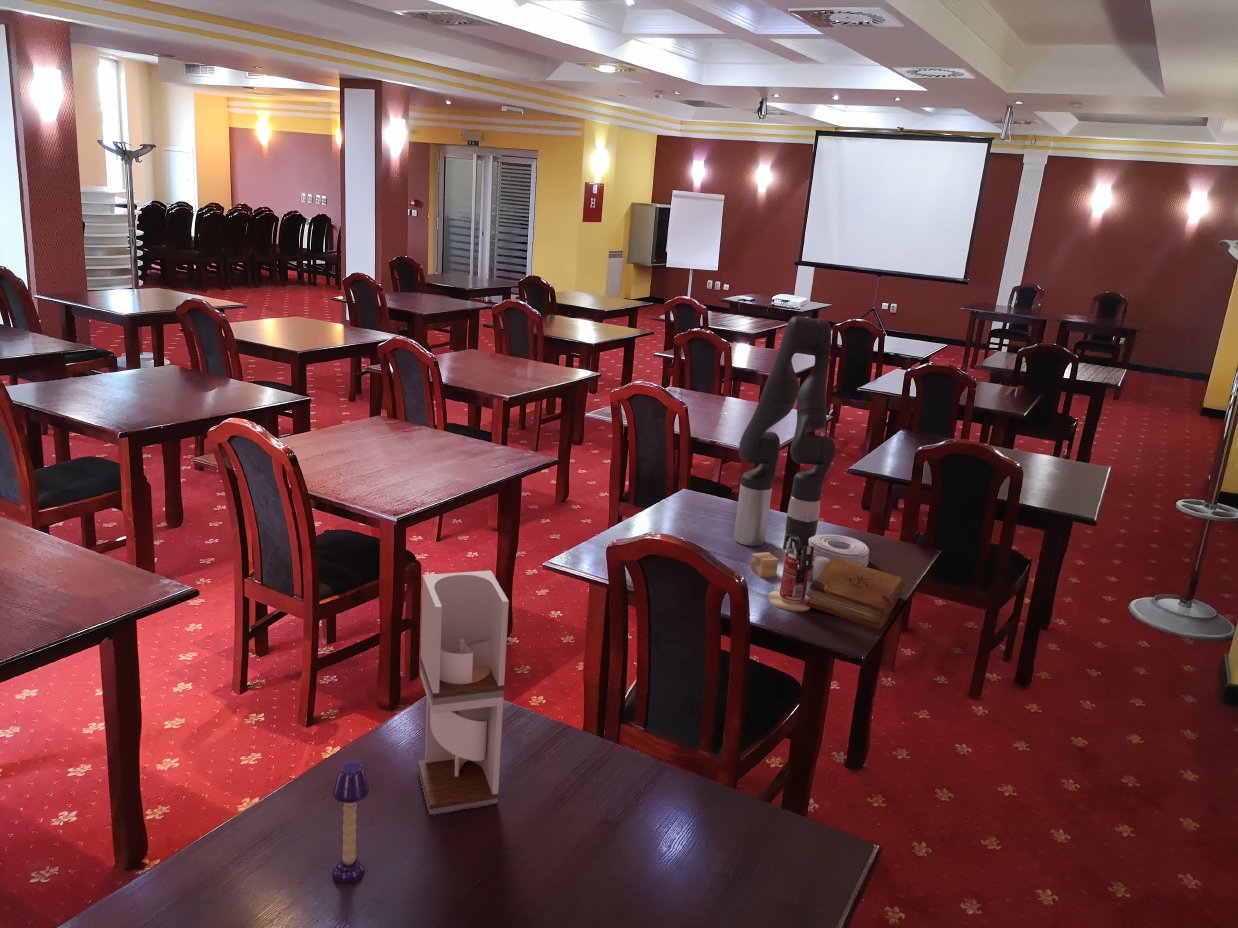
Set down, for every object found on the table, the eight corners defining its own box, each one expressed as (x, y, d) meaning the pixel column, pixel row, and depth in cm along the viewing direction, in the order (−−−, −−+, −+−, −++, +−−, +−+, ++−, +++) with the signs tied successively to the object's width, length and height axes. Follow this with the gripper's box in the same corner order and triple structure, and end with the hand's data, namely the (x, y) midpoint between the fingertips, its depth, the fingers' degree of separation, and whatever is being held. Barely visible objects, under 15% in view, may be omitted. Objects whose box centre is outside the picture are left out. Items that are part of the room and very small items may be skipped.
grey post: (810, 576, 242) (813, 555, 241) (825, 577, 242) (828, 556, 241) (813, 582, 238) (816, 561, 237) (828, 583, 238) (831, 562, 237)
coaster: (762, 592, 229) (763, 589, 229) (803, 592, 231) (803, 590, 231) (775, 611, 219) (776, 608, 218) (818, 611, 220) (819, 608, 220)
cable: (801, 565, 250) (804, 545, 248) (809, 545, 266) (812, 526, 264) (865, 578, 245) (868, 558, 243) (869, 557, 261) (872, 537, 259)
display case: (417, 771, 147) (422, 574, 137) (481, 762, 151) (490, 570, 141) (429, 815, 137) (435, 606, 127) (497, 804, 140) (508, 600, 131)
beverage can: (803, 595, 227) (810, 552, 224) (805, 606, 221) (812, 561, 218) (778, 592, 227) (784, 548, 224) (779, 603, 221) (786, 558, 218)
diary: (881, 630, 213) (886, 609, 212) (806, 606, 221) (810, 585, 220) (900, 597, 233) (905, 577, 231) (830, 576, 241) (834, 556, 239)
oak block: (750, 570, 243) (752, 553, 241) (766, 569, 245) (768, 552, 243) (760, 577, 238) (762, 560, 237) (775, 576, 240) (778, 559, 239)
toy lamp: (337, 858, 126) (336, 756, 122) (370, 858, 127) (371, 757, 122) (329, 883, 122) (328, 778, 117) (364, 883, 122) (365, 778, 118)
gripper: (779, 504, 224) (770, 564, 229) (798, 524, 211) (788, 587, 215) (807, 505, 226) (798, 565, 230) (828, 525, 212) (818, 588, 217)
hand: (793, 575), depth 223 cm, fingers open, 8 cm apart
